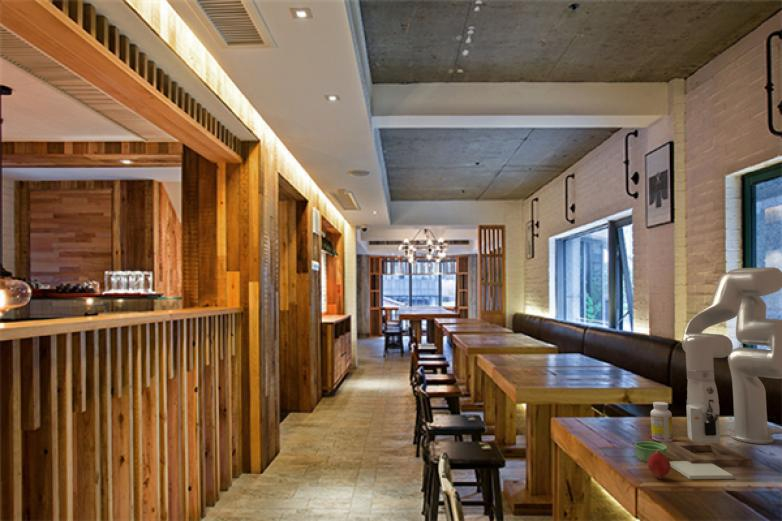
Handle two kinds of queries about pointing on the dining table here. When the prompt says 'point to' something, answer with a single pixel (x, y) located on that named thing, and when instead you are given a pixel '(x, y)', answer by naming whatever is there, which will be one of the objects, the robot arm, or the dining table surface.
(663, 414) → the supplement bottle
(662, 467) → the onion
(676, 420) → the dining table surface
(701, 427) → the small box
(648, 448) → the ramekin
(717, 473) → the cream square tile
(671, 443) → the holder block
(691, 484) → the dining table surface
